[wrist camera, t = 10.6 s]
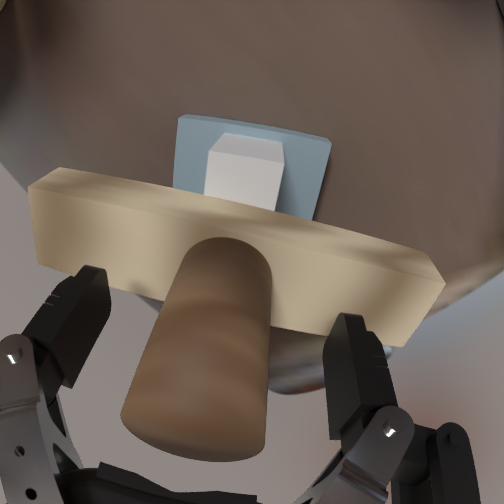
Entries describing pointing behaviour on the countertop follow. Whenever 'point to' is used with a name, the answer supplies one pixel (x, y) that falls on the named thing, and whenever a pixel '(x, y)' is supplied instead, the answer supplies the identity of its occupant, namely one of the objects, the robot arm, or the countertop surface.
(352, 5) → the countertop surface
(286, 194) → the fulcrum block
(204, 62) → the countertop surface
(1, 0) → the candle
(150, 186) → the maple bar
